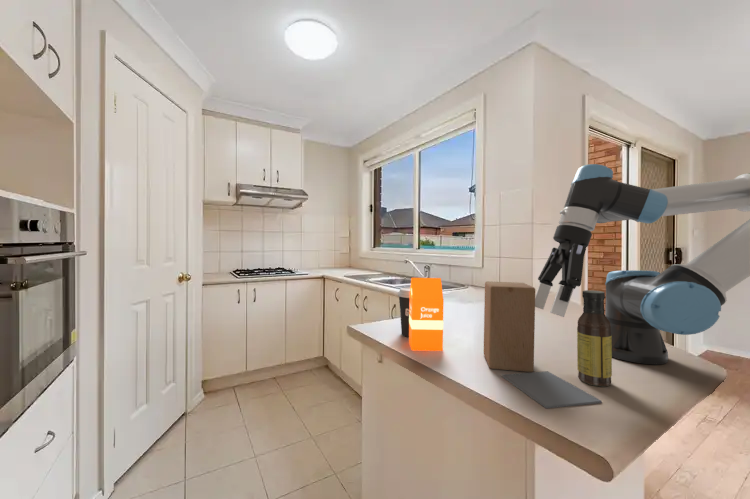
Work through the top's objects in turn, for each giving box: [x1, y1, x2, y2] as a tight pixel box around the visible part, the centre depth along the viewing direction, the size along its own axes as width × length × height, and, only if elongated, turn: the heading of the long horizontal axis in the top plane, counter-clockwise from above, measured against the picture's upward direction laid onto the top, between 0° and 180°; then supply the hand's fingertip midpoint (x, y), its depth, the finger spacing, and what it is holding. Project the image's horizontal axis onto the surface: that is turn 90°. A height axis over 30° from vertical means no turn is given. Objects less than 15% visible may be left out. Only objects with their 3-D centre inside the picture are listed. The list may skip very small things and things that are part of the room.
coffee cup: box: [397, 286, 411, 338], centre depth 103 cm, size 10×10×15 cm
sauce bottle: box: [576, 289, 613, 388], centre depth 69 cm, size 6×6×20 cm
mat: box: [501, 371, 603, 409], centre depth 65 cm, size 14×12×1 cm
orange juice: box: [408, 277, 444, 352], centre depth 91 cm, size 8×9×20 cm
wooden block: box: [483, 281, 536, 373], centre depth 79 cm, size 10×10×20 cm
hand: (546, 311), depth 76 cm, fingers open, 13 cm apart
